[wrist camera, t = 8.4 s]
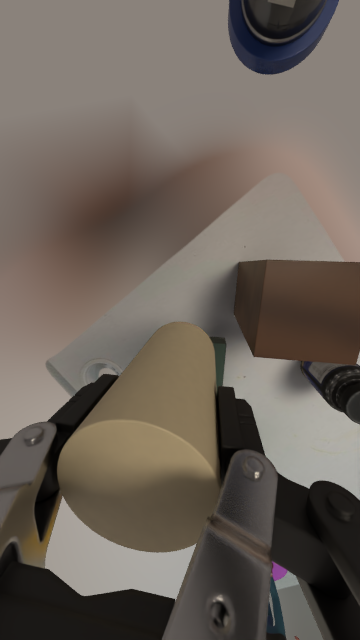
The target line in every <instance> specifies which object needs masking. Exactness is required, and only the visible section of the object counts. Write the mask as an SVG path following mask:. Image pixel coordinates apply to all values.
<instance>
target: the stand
mask: <svg viewBox="0 0 360 640" xmlns="http://www.w3.org/2000/svg"><path fill="white" fill-rule="evenodd" d="M234 316H235V318H236V320H237V322H238V324H239V326H240V329H241V331H242V333H243V335H244V337H245V339H246V341H247V343H248V346H249V348H250V350H251V352H252V354H253V356H254V357H262V358H274V359H286V360H298V361H310V362H322V363H334V364H346V365H356V362H357V359H358V355H359V351H360V262H327V261H292V260H258V261H246V262H239V266H238V276H237V286H236V296H235V306H234Z"/></svg>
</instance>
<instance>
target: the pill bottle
mask: <svg viewBox="0 0 360 640" xmlns="http://www.w3.org/2000/svg"><path fill="white" fill-rule="evenodd" d="M301 371H302V373H303V375H304V376H305V377H306V378H307V379H308V380H309V382H310V383H311V384H312V385H313V386H314V388H315V389H316V390H317V391H318V392H319V393H320V395H321V396H322V397H323V398H324V399H325V400H326V402H327V403H328V404H329V405H330V406H331V407H333V408H334V409H336V410H338V411H340V412H344V413H345V414H346V415H347V416H348V417H349V418H350V419H351V420H352V421H354V422H355V423H358V424H360V366H359V365H358V364H356V365H346V364H334V363H322V362H310V361H301Z"/></svg>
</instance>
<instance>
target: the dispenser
mask: <svg viewBox="0 0 360 640" xmlns="http://www.w3.org/2000/svg"><path fill="white" fill-rule="evenodd" d="M209 338H210V339H211V341H212V343H213V346H214V351H215V368H216V388H217V389H218V386H222V385H223V374H224V364H225V353H226V341H225V338H220V337H209Z"/></svg>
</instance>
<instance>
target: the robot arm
mask: <svg viewBox="0 0 360 640" xmlns="http://www.w3.org/2000/svg"><path fill="white" fill-rule="evenodd" d="M326 1H327V0H241V10H242V16H243V20H244V23H245V25H246V27H247V29H248V31H249V33H250V34H251V35H252V36H253V37H254V38H255V39H256V40H257V41H259V42H260V43H262V44H265V45H268V46H283V45H286V44H289V43H292V42H293V41H295V40H297V39H299V38H300V37H301V36H303V35H304V34H305V33H306V32H307V31H308V30H309V29H310V28H311V27H312V26H313V24H314V23H315V22H316V20H317V19H318V17H319V16H320V14H321V12H322V10H323V8H324V6H325V4H326ZM118 378H119V376H118V375H110V374H103V375H102V376H101V377H100V378H99V379H98V380H97V381H96V382H95V383H90V384H88V385H86V386H84V387H83V388H81V389H80V390H79V391H78V392H77V393H76V394H75V396H73V397H72V398H71V399H70V400H69V402H67V403H66V404H65V405H64V406H63V407H62V408H61V409H59V410H58V411H57V412H56V413H55V414H54V415H53V416H52V417H51V418H50V419H49V420H48V421H47V422H39V423H35V424H32V425H29V426H27V427H26V428H23V429H22V430H20V431H19V432H18V433H17V434H16V435H14V437H13V438H10V439H2V440H0V640H266V629H267V617H268V605H269V594H270V582H271V570H272V561H273V562H275V563H276V564H278V565H279V566H281V567H283V568H284V569H286V570H288V571H289V572H291V573H293V574H294V575H296V577H297V579H298V582H299V584H300V586H301V588H302V591H303V593H304V595H305V598H306V600H307V602H308V605H309V607H310V609H311V611H312V614H313V616H314V618H315V621H316V623H317V625H318V628H319V630H320V632H321V634H322V637H323V639H324V640H360V500H359V499H358V498H356V497H355V496H354V495H353V494H352V493H351V492H349V491H348V490H346V489H345V488H343V487H341V486H339V485H337V484H335V483H332V482H329V481H316V482H314V483H313V484H312V485H311V486H310V489H309V488H306V487H304V486H302V485H299V484H297V483H295V482H292V481H290V480H288V479H286V478H285V477H283V476H282V475H280V474H279V473H278V472H277V471H276V469H275V467H274V465H273V464H272V463H271V461H270V460H269V459H268V458H266V456H265V453H264V450H263V446H262V443H261V439H260V436H259V432H258V429H257V425H256V422H255V418H254V415H253V411H252V408H251V406H250V405H249V404H248V403H247V402H246V401H245V399H236V398H235V393H234V388H233V387H225V386H218V389H217V408H218V429H219V449H220V466H221V485H222V487H221V490H220V493H219V496H218V498H217V501H216V504H215V507H214V510H213V513H212V515H211V517H209V516H208V517H207V519H206V521H205V523H204V525H203V528H202V531H201V533H200V536H199V539H198V542H197V544H196V547H195V550H194V553H193V555H192V558H191V561H190V563H189V566H188V569H187V572H186V574H185V577H184V580H183V583H182V585H181V588H180V591H179V594H178V596H177V599H176V602H175V599H172V598H169V597H164V596H160V595H156V594H151V593H147V592H143V591H138V590H134V589H129V590H122V591H116V592H110V593H104V594H97V595H92V596H81V595H80V594H78V593H77V592H76V591H75V590H73V589H72V588H71V587H70V586H69V585H67V584H66V583H65V582H64V581H62V580H61V579H60V578H59V577H58V576H56V575H55V574H54V573H53V572H51V571H50V570H49V569H45V558H46V552H47V547H48V544H49V540H50V537H51V533H52V530H53V527H54V523H55V520H56V516H57V513H58V510H59V506H60V503H61V499H62V496H63V495H62V492H61V490H60V487H59V483H58V477H57V465H58V460H59V456H60V453H61V451H62V448H63V446H64V445H65V443H66V442H67V441H68V439H69V438H70V437H71V436H72V434H73V433H74V432H75V431H76V429H77V428H78V427H79V426H80V424H81V423H82V422H83V421H84V419H85V418H86V417H87V416H88V415H89V413H90V412H91V411H92V410H93V408H94V407H95V406H96V405H97V403H98V402H99V401H100V400H101V399H102V397H103V396H104V395H105V394H106V392H107V391H108V390H109V389H110V387H111V386H112V385H113V384H114V382H115V381H116V380H117V379H118Z"/></svg>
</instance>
